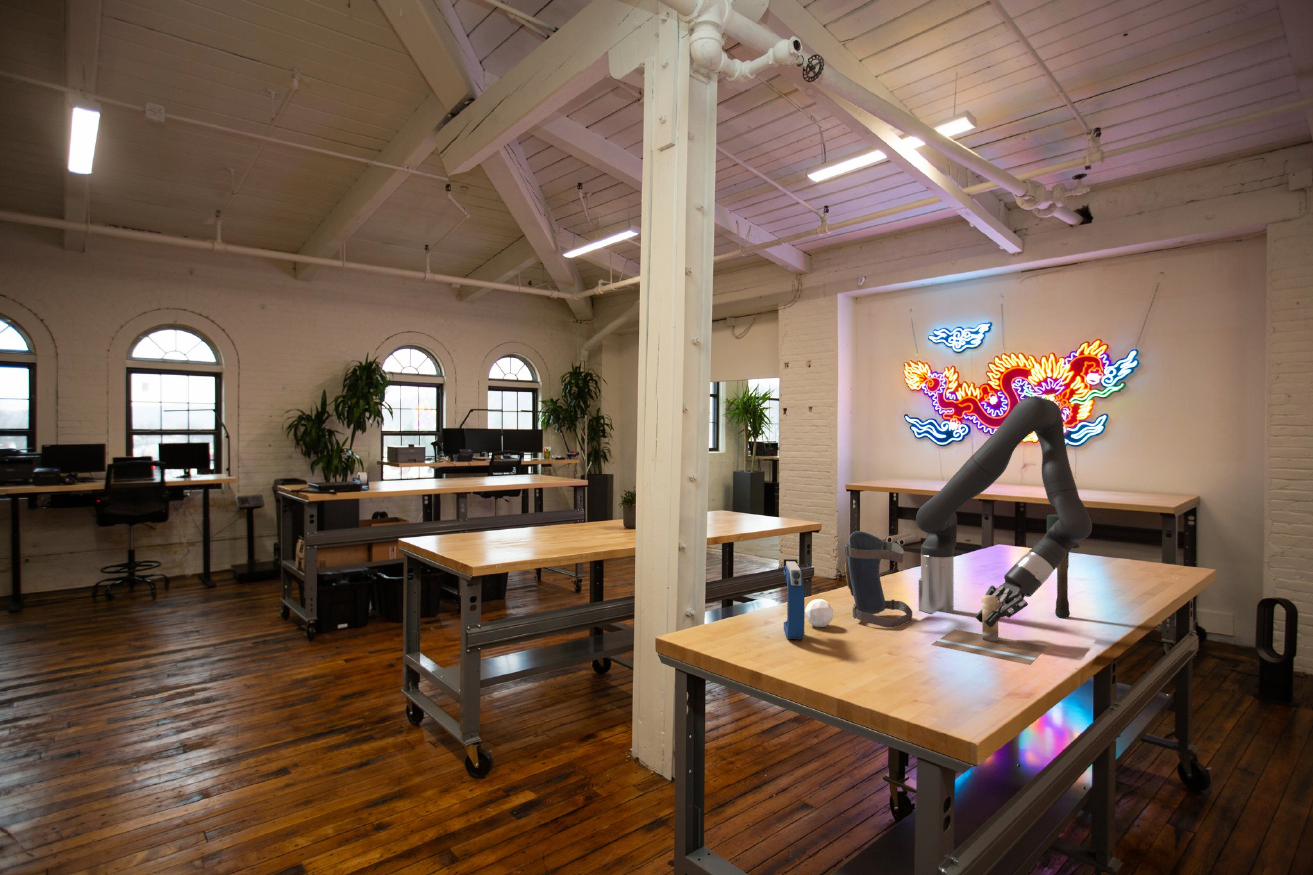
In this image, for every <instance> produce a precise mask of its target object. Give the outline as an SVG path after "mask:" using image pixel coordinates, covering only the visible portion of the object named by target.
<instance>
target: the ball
mask: <svg viewBox="0 0 1313 875" xmlns="http://www.w3.org/2000/svg"><path fill="white" fill-rule="evenodd" d="M804 610H805V613H804V614H805V618H806V619H807V622H808V623H809V624H810V625H812V626H814V627H815V628H825V627H827V626H829V625H830V624H831V622H832V621H833V619H834V618H835V617H834V616H835V615H834V608H833V607H832V605H831V603H830V602H828V601H826V600H824V598H823V599H821V598H819V599H813V600H811V601H810V602H809V603H808V604H807V605H806V607H805V608H804Z"/></svg>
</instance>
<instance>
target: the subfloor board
mask: <svg viewBox="0 0 1313 875" xmlns="http://www.w3.org/2000/svg"><path fill="white" fill-rule="evenodd" d="M930 646H935V647H939V648H945V649H949V650H954V651H960V652H964V653H968V654H973V655H978V656H985V657H989V658H994V659H999V660H1002V661H1003V660H1004V661H1007V662H1009V661H1010V662H1014V663H1017V664H1018V663H1019V664H1024V665H1029V666H1031V665H1032V663H1033V662H1034V661H1036V659H1038V658H1039V656H1040V655H1041V654H1042V653H1043V652H1044V651H1045V650H1046V649H1047V648H1048V646H1047V645H1044V644H1038V643H1031V642H1026V641H1020V640H1016V639H1010V638H1005V637H999V636H998V642H988V641H984V640H983V633H978V632H973V631H966V630H960V629H957V628H956V629H955V628H954V629H953V630H951V631H950V632H948V633H947V634H945V635H943V636H942V637H941V638H939V639H938V638H937V640H935V641H934V642H933V643H931V644H930Z"/></svg>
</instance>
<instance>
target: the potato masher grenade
mask: <svg viewBox="0 0 1313 875" xmlns="http://www.w3.org/2000/svg"><path fill="white" fill-rule="evenodd" d="M1057 520H1059V517H1058V514H1057V513H1055V514H1047V515H1046V533H1047V532H1048V530H1049V529H1050V528H1051V527H1052V526H1053V525H1054V523H1055V522H1056V521H1057ZM1078 548H1080V544H1079V542H1078V543H1077V544H1076V545H1075V546H1074V547H1073V548H1072V549H1078ZM1069 556H1070V551H1069V552H1068V553H1067V554H1066V557H1065V559H1064V560H1063V561H1062V562H1061V563H1060V564H1059V565H1058V567H1057V568H1056V575H1057V576H1056V595H1057V596H1056V600H1055V610H1054V613H1055V616H1056V617H1057V618H1061V619H1068V618H1070V616H1071V615H1070V614H1071V613H1070V603H1069V598H1068V596H1069V593H1068V590H1069V589H1068V587H1069V584H1068V579H1069V577H1068V576H1069V575H1068V574H1069V573H1068V571H1069V567H1070V566H1069V562H1070V561H1069V559H1070V558H1069Z"/></svg>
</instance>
